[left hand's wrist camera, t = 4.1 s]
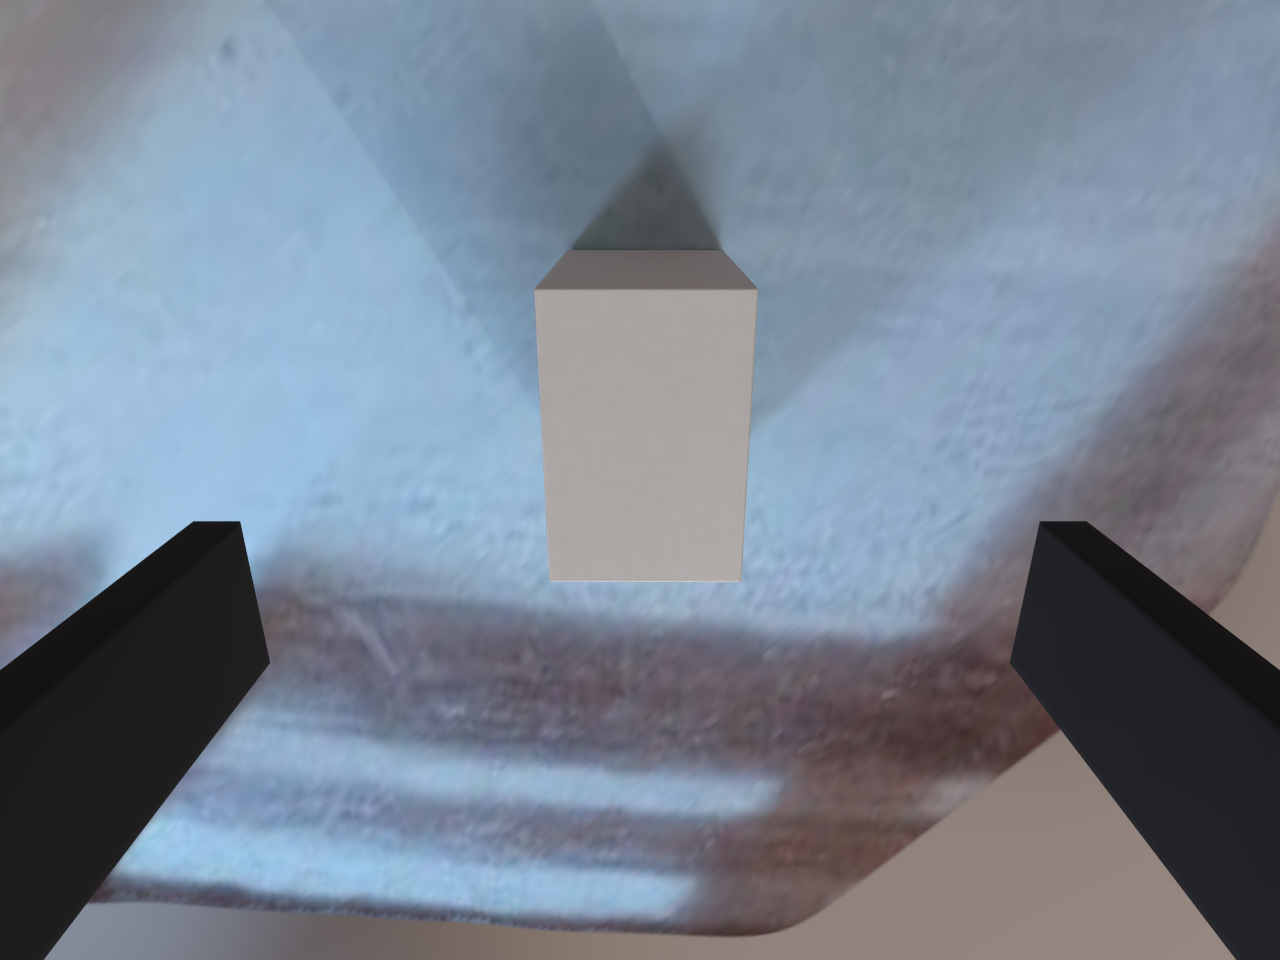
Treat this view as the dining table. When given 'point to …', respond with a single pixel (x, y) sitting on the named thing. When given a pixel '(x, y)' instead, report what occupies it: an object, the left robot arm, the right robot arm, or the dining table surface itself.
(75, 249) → the dining table surface
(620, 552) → the brick
